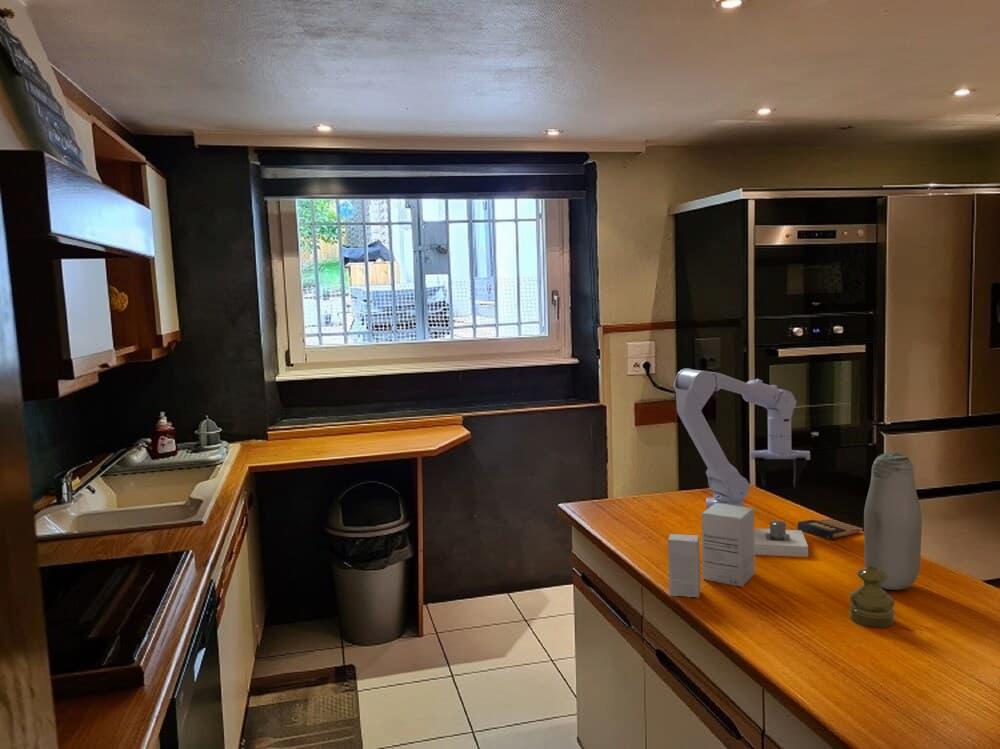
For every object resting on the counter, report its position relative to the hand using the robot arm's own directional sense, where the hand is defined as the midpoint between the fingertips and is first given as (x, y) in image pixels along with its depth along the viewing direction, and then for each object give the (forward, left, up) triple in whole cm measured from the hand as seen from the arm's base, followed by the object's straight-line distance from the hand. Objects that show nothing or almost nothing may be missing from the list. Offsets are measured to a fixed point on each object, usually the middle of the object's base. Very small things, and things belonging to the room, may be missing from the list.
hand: (779, 486), depth 196 cm
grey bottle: (+18, -40, -11) cm, 45 cm away
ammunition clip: (+7, -7, -9) cm, 14 cm away
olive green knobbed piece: (+11, -57, -11) cm, 59 cm away
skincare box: (-23, -50, -11) cm, 56 cm away
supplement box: (-14, -39, -11) cm, 43 cm away
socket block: (-2, -18, -10) cm, 21 cm away
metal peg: (-2, -18, -10) cm, 21 cm away
